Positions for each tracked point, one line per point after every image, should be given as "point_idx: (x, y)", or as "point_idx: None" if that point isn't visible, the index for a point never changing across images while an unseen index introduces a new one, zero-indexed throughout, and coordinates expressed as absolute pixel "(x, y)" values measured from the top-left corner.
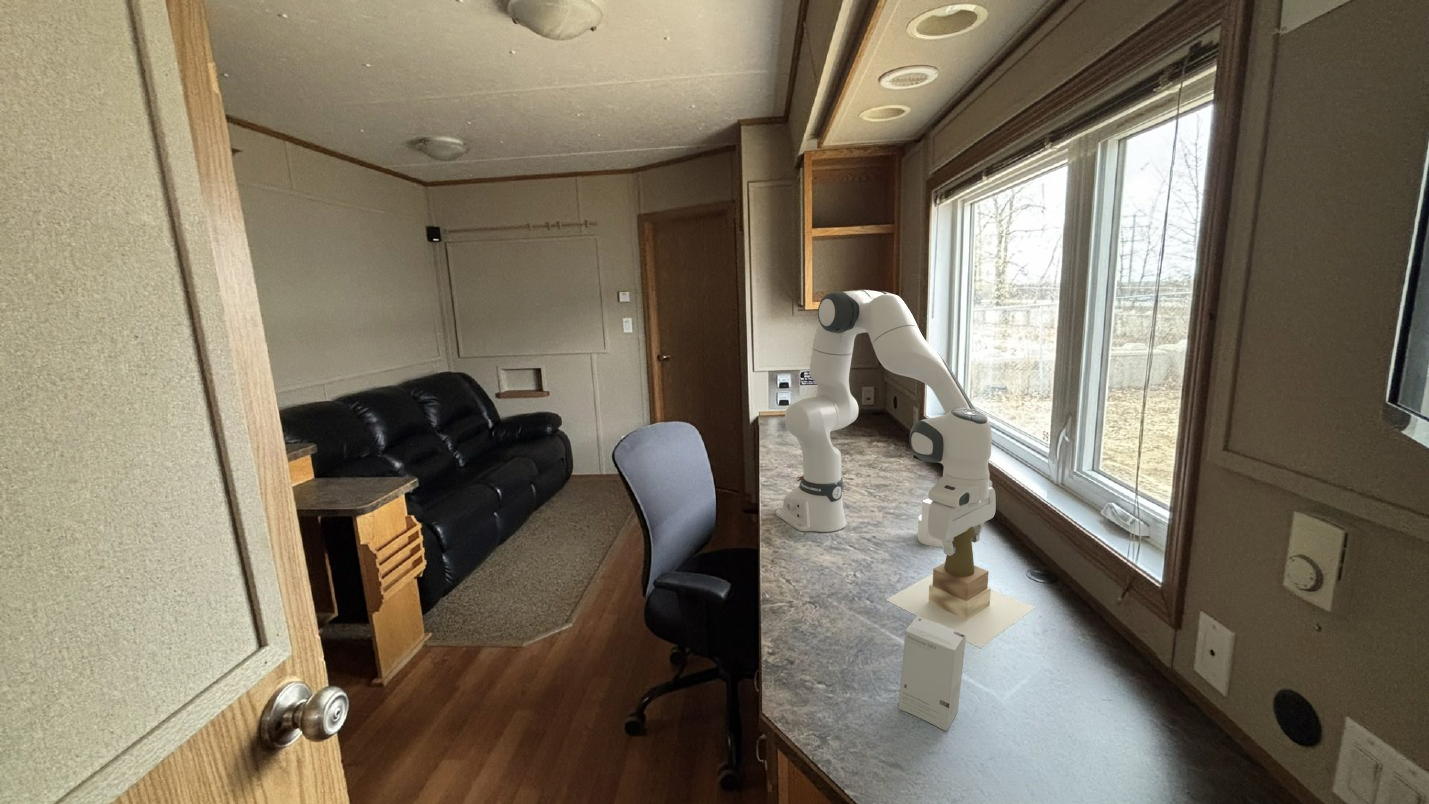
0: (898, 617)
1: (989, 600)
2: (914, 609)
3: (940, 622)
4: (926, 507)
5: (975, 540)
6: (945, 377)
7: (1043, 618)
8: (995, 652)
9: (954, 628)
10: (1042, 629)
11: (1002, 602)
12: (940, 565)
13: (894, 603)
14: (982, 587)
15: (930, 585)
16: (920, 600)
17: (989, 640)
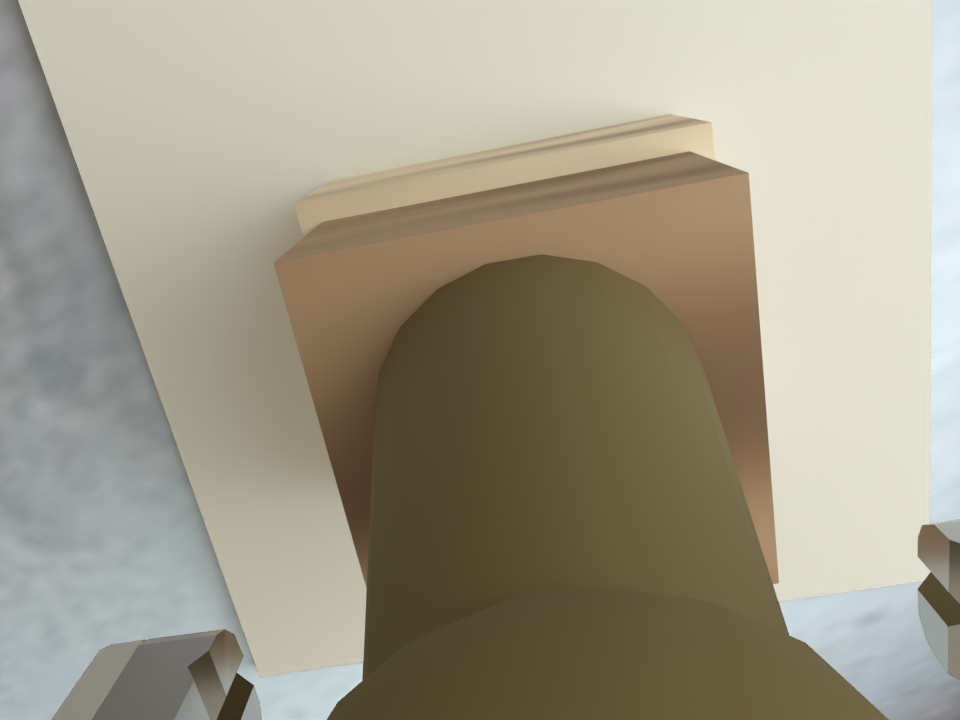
0: (6, 200)
1: None
2: (154, 208)
3: (223, 414)
4: None
5: (946, 663)
6: None
7: (864, 637)
8: (331, 700)
9: (261, 499)
10: None
11: (810, 448)
12: (418, 244)
13: (49, 57)
14: None
15: (306, 209)
16: (285, 131)
17: (361, 658)
